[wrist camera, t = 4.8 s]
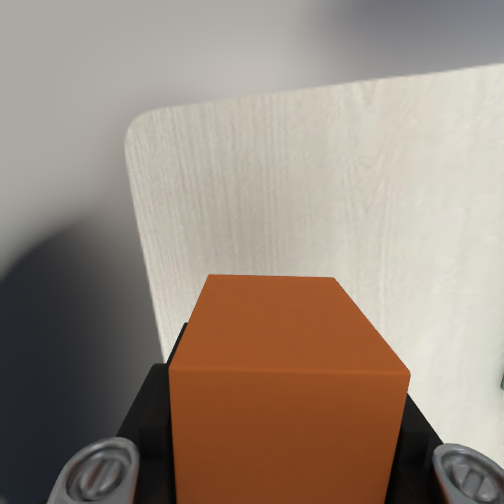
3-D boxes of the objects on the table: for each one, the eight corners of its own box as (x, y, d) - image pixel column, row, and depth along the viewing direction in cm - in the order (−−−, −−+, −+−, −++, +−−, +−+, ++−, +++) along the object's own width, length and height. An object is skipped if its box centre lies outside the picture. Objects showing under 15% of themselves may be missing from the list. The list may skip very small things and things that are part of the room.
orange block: (207, 273, 9) (166, 367, 5) (334, 276, 9) (413, 372, 5) (210, 426, 10) (181, 604, 6) (317, 428, 11) (364, 606, 6)
